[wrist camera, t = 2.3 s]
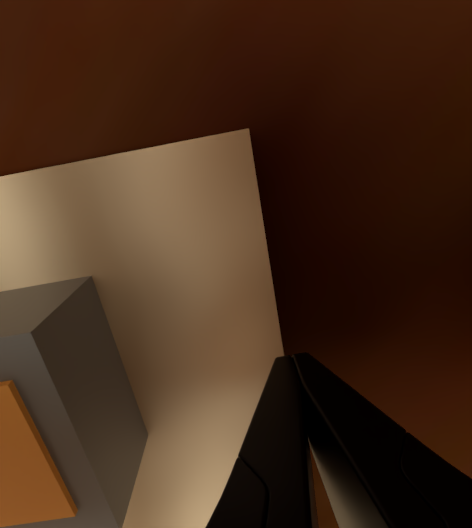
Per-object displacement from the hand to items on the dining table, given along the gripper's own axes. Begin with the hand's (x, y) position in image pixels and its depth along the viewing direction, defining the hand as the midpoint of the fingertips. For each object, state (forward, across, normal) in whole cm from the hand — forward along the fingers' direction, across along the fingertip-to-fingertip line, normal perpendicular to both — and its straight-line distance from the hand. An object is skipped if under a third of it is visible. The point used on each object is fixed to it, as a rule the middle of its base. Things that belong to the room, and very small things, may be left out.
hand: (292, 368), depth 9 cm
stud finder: (+2, +7, 0) cm, 7 cm away
